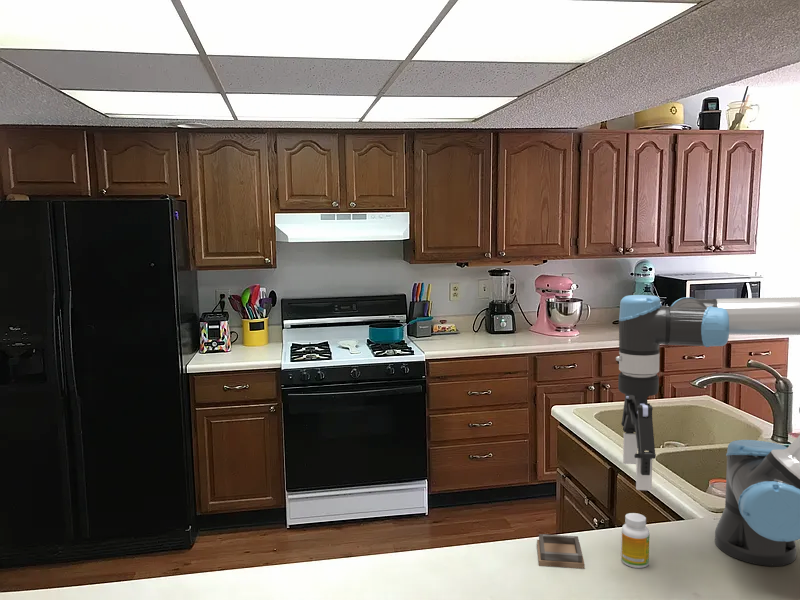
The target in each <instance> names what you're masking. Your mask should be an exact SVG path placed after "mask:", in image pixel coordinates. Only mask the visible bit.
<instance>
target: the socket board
mask: <svg viewBox="0 0 800 600" xmlns="http://www.w3.org/2000/svg"><path fill="white" fill-rule="evenodd" d="M536 547H537V548H536V549H537V555H538V566H539V567H553V568H571V569H585V560H584V556H583V551H582V548H581V543H580V539H579V536H577V535H576V536H575V535H561V534H546V533H545V534H544V533H543V534H541V533H538V539H536Z"/></svg>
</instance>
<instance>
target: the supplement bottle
mask: <svg viewBox="0 0 800 600" xmlns="http://www.w3.org/2000/svg"><path fill="white" fill-rule="evenodd" d="M624 519H625V521H624V522H625V523H624V524H622V527H621V531H620V532H621V534H620V535H621V538H620V539H621V541H620V546H621V547H620V559H621V562H622V563H623V564H624V565H626V566H627V567H631V568H634V569H635V568H636V569H643V568H646V567H648V566H649V564H650V534H651V533H650V529H649V528H648V526H646V525H647V517H646V516H645V515H643V514H640V513H636V512H629V513H626V514H625V516H624Z"/></svg>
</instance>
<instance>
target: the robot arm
mask: <svg viewBox="0 0 800 600" xmlns="http://www.w3.org/2000/svg"><path fill="white" fill-rule="evenodd" d="M619 302H620V304H619V314H618V315H619V317H618V318H619V319H618V354H619V355H618V356H616V357H615V361H617V362H618V370H619V371H620V373H619V374H618V377H617V378H618V383H617V385H618V386H617V387H618V388H617V390H618V391H619V392H620V393H621V394H624V402H623V403H624V405H623V408H622V409H623V411H622V419H621V423H620V424H621V426H622V430H623V441H622V442H623V448H622V449H623V450H622V452H623V454H622V462H623V465H624V464H625V465H636V469H635V471H636V472H635V473H636V474H635V479H636V480H635V489H636V491H652V488H653V486H652V485H653V484H652V483H653V482H652V481H653V459H654V460H655V459H656V455H657V453H656V446H655V445H656V444H655V437H654V435H655V434H654V425H653V424H654V423H653V405H651V403H648V398H649V397H650V396H651V397H652V396H653V397H654V396H656V395H657V394H658V393H659V388H660V387H659V383H660V382H659V381H660V380H659V379H660V377H659V376H658V373H659V372H660V346H661V345H666V346H670V345H673V346H689V347H690V346H694V347H705V348H710V347H723V346H726V344H727V343H728V341H729V338H730V336H731V335H734V336H735V335H736V336H737V335H739V336H740V335H741V336H742V335H745V336H747V335H751V336H753V335H754V336H756V335H757V336H758V335H759V336H760V335H761V336H762V335H763V336H765V335H767V336H769V335H770V336H772V335H773V336H775V335H776V336H779V335H781V336H782V335H785V336H787V335H789V336H792V335H793V336H794V335H795V336H799V335H800V297H797V296H795V297H793V296H791V297H750V298H748V297H747V298H746V297H744V298H743V297H742V298H741V297H739V298H732V297H731V298H696V297H695V298H694V297H692V296H691V297H689V296H688V297H681V298H679V299H677V300H675V301H674V302H672V304H671V305H669V306H667V305H662V303H661V299H660V297H659V296H657V295H651V294H649V295H648V294H633V295H632V294H631V295H625V296H624V297H622V299H621V300H620V301H619ZM725 457H726V476H725V478H726V479H725V501H724V502H725V503H724V509H723V511H722V514H721V516H720V518H719V521H718V523H717V525H716V527H715V530H714V542H715V545H716V547H718V549H720V550H721V552H723V553H725V554H727V556H731V557H732V558H734V559H737V560H739V561H742V562H745V563H749V564H753V565H757V566H758V565H759V566H767V567H780V566H786V565H790V564H792V563H794V562H795V560H796V558H797V543H796V541H799V540H800V434H799V435H798V436H797V437H796V438H795V440H793V441H792V442H791V443H790V444H789V446H785V445H783V444H780V443H777V442H776V443H775V442H770V441H765V440H764V441H763V440H758V439H757V440H755V439H738V440H737V439H736V440H732V441H731V442H730V443H728V445H727V451H726V453H725Z"/></svg>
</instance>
